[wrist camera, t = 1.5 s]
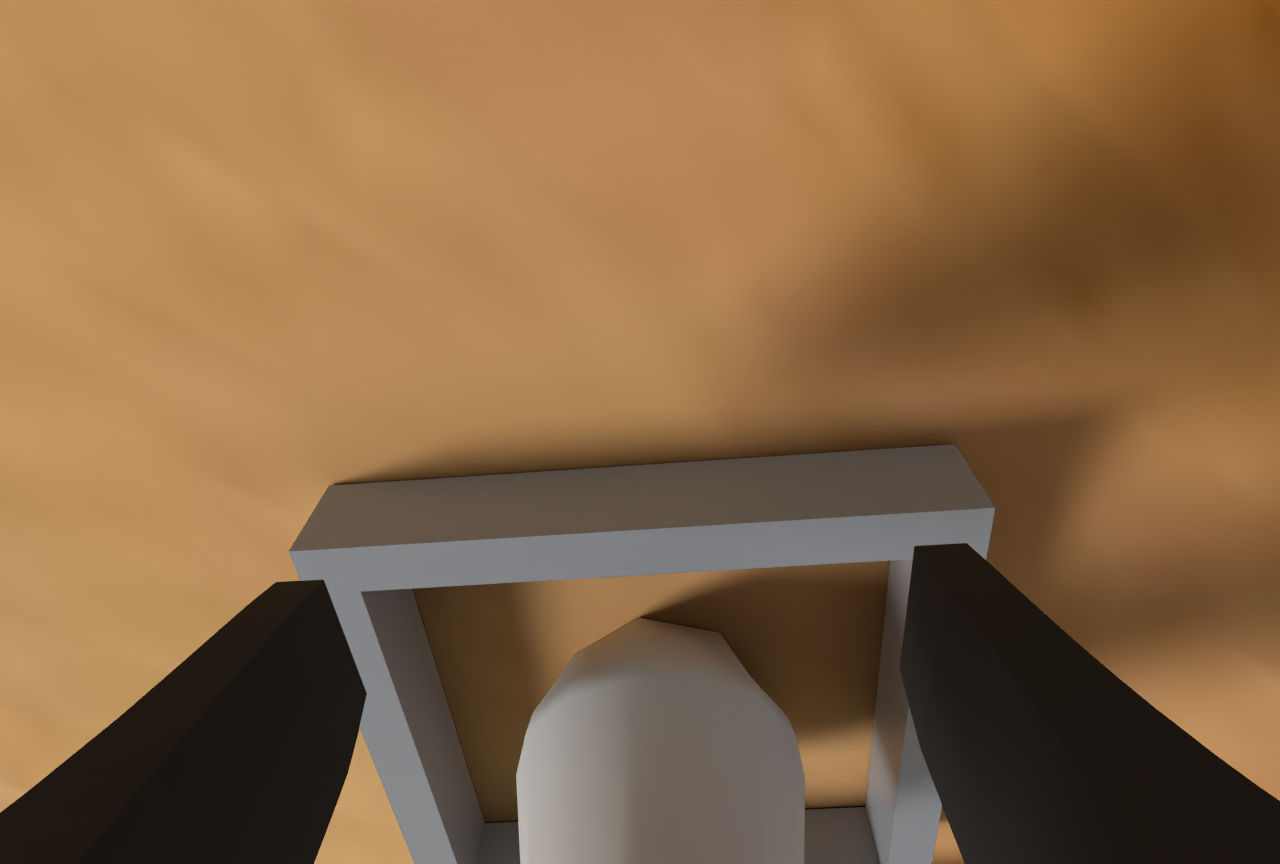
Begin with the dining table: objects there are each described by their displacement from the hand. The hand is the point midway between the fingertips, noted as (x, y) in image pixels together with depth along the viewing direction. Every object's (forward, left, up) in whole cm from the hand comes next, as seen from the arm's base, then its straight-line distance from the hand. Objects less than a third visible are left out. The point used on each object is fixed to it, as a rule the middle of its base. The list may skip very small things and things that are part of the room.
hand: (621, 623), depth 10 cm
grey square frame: (0, +7, -5) cm, 9 cm away
